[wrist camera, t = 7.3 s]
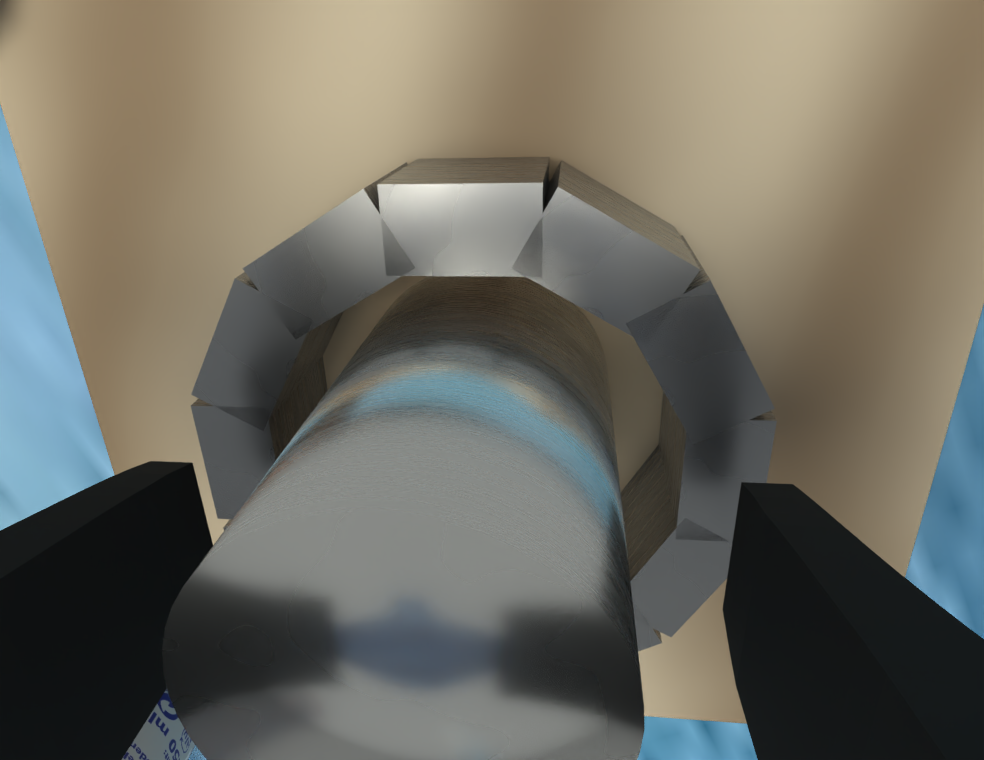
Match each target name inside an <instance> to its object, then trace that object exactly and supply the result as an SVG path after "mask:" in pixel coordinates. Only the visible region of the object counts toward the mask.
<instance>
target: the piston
mask: <svg viewBox="0 0 984 760" xmlns="http://www.w3.org/2000/svg"><path fill="white" fill-rule="evenodd" d="M162 657H163V673H164V677H165V681H166V685H167V690H168V694H169V697H170V699H171V702H172V704H173V706H174V709H175V711H176V714H177V716H178V718H179V720H180V721H181V723H182V725H183V727H184V728H185V730H186V732H187V734H188V735H189V737H190V738H191V740H192V741H193V742H194V744H195V745H196V746H197V748H198V749H199V750H200V751H201V753H202V754H203V755H204V757H205V758H206V759H207V760H637V758H638V755H639V753H640V749H641V744H642V739H643V733H644V700H643V691H642V682H641V672H640V663H639V654H638V645H637V636H636V627H635V618H634V609H633V600H632V591H631V581H630V572H629V563H628V554H627V545H626V536H625V527H624V518H623V509H622V499H621V490H620V481H619V472H618V463H617V454H616V445H615V436H614V427H613V417H612V408H611V399H610V390H609V381H608V372H607V365H606V360H605V355H604V351H603V348H602V345H601V342H600V340H599V338H598V336H597V334H596V332H595V330H594V328H593V326H592V324H591V323H590V321H589V320H588V318H587V317H586V316H585V314H584V313H583V312H582V311H581V309H580V308H579V307H578V306H577V305H575V304H574V303H572V302H570V301H568V300H567V299H565V298H563V297H561V296H559V295H558V294H556V293H554V292H552V291H551V290H549V289H547V288H545V287H543V286H542V285H540V284H538V283H536V282H534V281H533V280H531V279H529V278H527V277H509V276H428V277H426V278H424V279H422V280H420V281H418V282H417V283H416V284H414V285H413V286H411V287H410V288H408V289H407V290H406V291H404V292H403V293H402V294H401V295H400V296H399V297H398V298H397V299H396V300H395V301H394V302H393V303H392V305H391V306H390V307H389V308H388V309H387V311H386V312H385V313H384V315H383V316H382V317H381V319H380V320H379V321H378V323H377V324H376V326H375V327H374V328H373V330H372V331H371V332H370V334H369V335H368V336H367V338H366V339H365V340H364V342H363V343H362V345H361V346H360V347H359V349H358V350H357V351H356V353H355V354H354V355H353V357H352V358H351V359H350V361H349V362H348V363H347V365H346V366H345V368H344V369H343V370H342V372H341V373H340V374H339V376H338V377H337V378H336V380H335V381H334V382H333V384H332V385H331V387H330V388H329V389H328V391H327V392H326V393H325V395H324V396H323V397H322V399H321V400H320V401H319V403H318V404H317V406H316V407H315V408H314V410H313V411H312V412H311V414H310V415H309V416H308V418H307V419H306V420H305V422H304V423H303V425H302V426H301V427H300V429H299V430H298V431H297V433H296V434H295V435H294V437H293V438H292V439H291V441H290V442H289V444H288V445H287V446H286V448H285V449H284V450H283V452H282V453H281V454H280V456H279V457H278V458H277V460H276V461H275V463H274V464H273V465H272V467H271V468H270V469H269V471H268V472H267V473H266V475H265V476H264V477H263V479H262V480H261V481H260V483H259V484H258V486H257V487H256V488H255V490H254V491H253V492H252V494H251V495H250V496H249V498H248V499H247V500H246V502H245V503H244V505H243V506H242V507H241V509H240V510H239V511H238V513H237V514H236V515H235V517H234V518H233V519H232V521H231V522H230V524H229V525H228V526H227V528H226V529H225V530H224V532H223V533H222V534H221V536H220V537H219V538H218V540H217V541H216V543H215V544H214V545H213V547H212V548H211V549H210V551H209V552H208V553H207V555H206V556H205V557H204V559H203V560H202V562H201V563H200V564H199V566H198V567H197V568H196V570H195V571H194V572H193V574H192V575H191V576H190V578H189V579H188V581H187V582H186V583H185V585H184V586H183V588H182V589H181V591H180V593H179V595H178V597H177V598H176V600H175V602H174V604H173V606H172V608H171V611H170V614H169V617H168V620H167V623H166V626H165V631H164V639H163V647H162Z"/></svg>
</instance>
